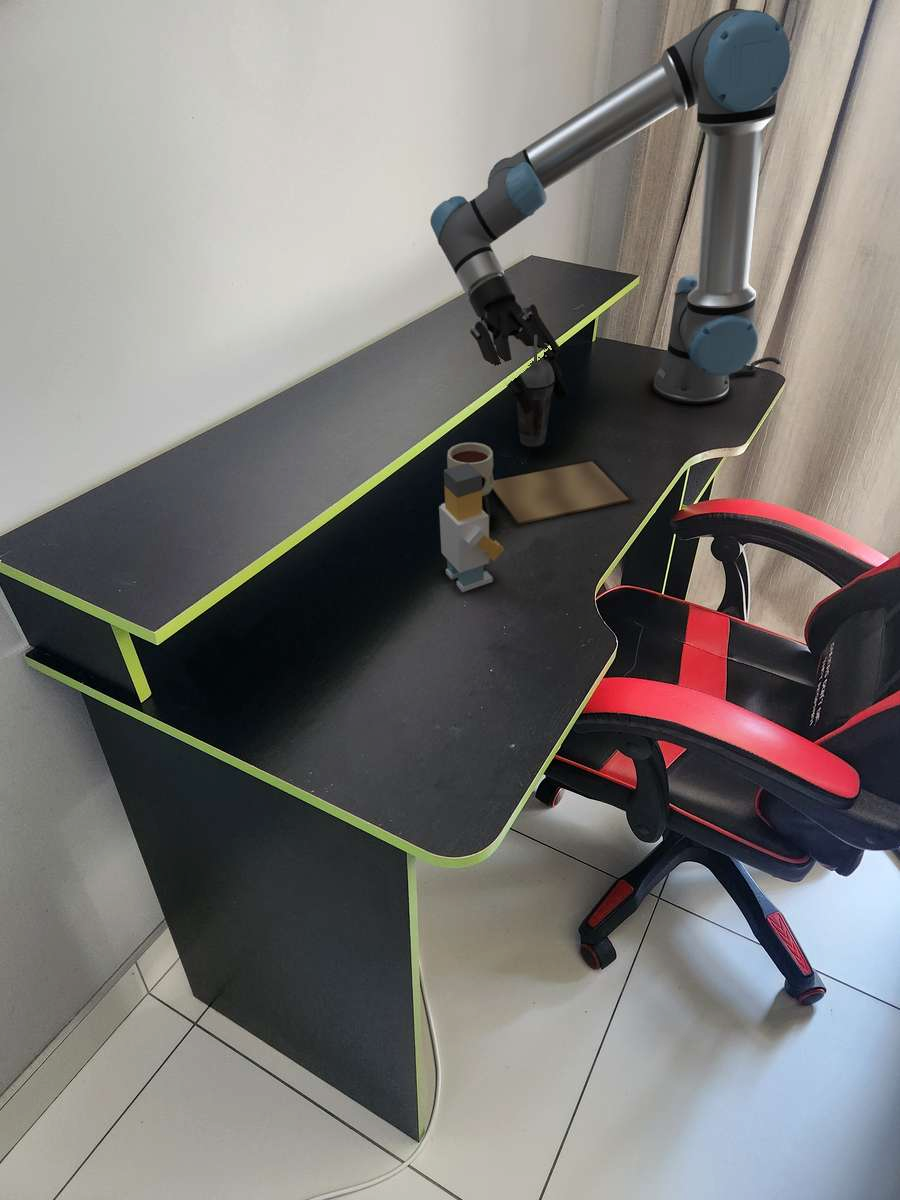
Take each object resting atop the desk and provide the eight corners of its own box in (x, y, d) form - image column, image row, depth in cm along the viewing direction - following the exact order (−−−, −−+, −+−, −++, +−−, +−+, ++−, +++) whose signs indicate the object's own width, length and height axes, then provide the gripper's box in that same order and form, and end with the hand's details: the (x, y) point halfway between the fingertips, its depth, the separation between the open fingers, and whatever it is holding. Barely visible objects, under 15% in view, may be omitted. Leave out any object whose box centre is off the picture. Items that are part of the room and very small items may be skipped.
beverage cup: (552, 431, 146) (557, 324, 133) (552, 450, 140) (558, 340, 127) (513, 431, 146) (514, 325, 134) (512, 450, 141) (513, 340, 128)
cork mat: (591, 463, 142) (592, 460, 141) (628, 501, 131) (628, 498, 131) (488, 483, 137) (488, 481, 137) (518, 524, 127) (518, 522, 126)
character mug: (468, 546, 122) (466, 474, 114) (433, 531, 126) (429, 460, 118) (508, 516, 129) (509, 445, 121) (474, 502, 133) (473, 433, 124)
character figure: (451, 556, 121) (447, 452, 109) (512, 573, 117) (514, 467, 105) (427, 584, 115) (420, 478, 104) (490, 603, 111) (490, 494, 100)
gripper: (519, 286, 143) (576, 396, 143) (432, 312, 134) (493, 430, 134) (540, 261, 137) (600, 377, 137) (449, 287, 128) (514, 411, 128)
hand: (547, 403), depth 136 cm, fingers closed on beverage cup, 7 cm apart
